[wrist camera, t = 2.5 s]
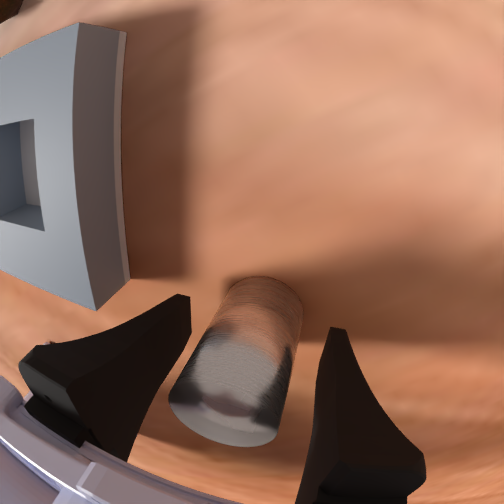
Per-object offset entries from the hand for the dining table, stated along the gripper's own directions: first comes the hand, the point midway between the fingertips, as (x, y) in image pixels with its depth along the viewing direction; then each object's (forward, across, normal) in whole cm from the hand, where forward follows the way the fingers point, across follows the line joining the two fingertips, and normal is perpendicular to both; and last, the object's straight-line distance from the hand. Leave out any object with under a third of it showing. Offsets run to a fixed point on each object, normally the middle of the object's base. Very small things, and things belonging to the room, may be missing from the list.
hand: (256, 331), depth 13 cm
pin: (+1, 0, 0) cm, 1 cm away
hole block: (+1, +12, -6) cm, 13 cm away
